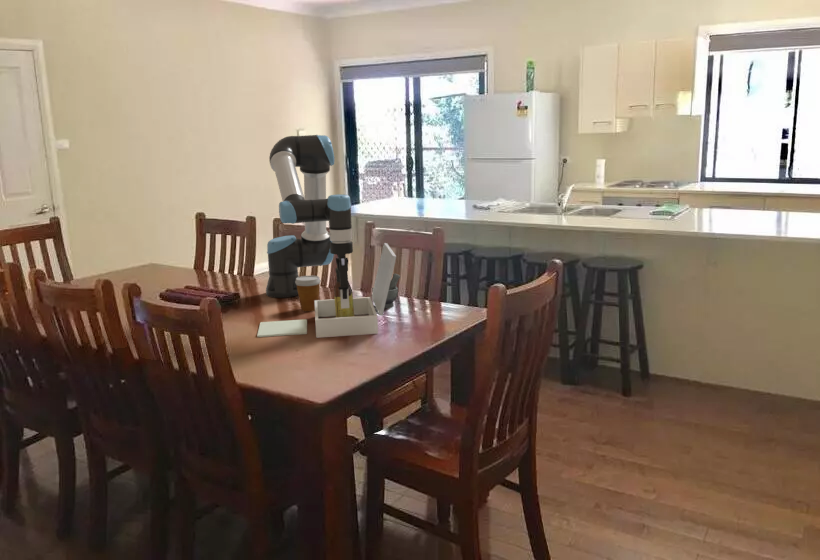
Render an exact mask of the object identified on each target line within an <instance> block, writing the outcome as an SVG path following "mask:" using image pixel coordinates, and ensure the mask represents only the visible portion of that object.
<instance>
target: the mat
mask: <svg viewBox="0 0 820 560" xmlns="http://www.w3.org/2000/svg"><path fill="white" fill-rule="evenodd" d="M307 334H308V319H307V318H305V319H292V320H274V321H260V323H259V327H258V331H257V334H256V335H257V337H256V338H267V337H279V336H280V337H282V336H284V337H285V336H297V335H307Z"/></svg>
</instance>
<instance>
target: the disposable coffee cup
mask: <svg viewBox="0 0 820 560" xmlns="http://www.w3.org/2000/svg"><path fill="white" fill-rule="evenodd" d="M321 281H322V280H321V278H320V276H319V275H302V276H299V277H297V278H296V281H295V283H296V285H297V290H298V295H297V296H298V299H299V306H300V309H301V311H302V312H315V302H314V300H320V299H319V298H320V288H321V287H320V286H321Z"/></svg>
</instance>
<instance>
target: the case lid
mask: <svg viewBox="0 0 820 560" xmlns="http://www.w3.org/2000/svg"><path fill="white" fill-rule="evenodd" d="M382 246H383V247H382V249H381V254H380V259H379V262H378V268H377V272H376V275H375V276H376V277H375V280H374V285H373V287H372V288H373V292H372V294H371V300H372V302H373V305H374V307H375V308H376V309H375V310H376V313H377V315H378V316H383V315H384V311H385V308H384V307H385V303H386V299H387V294H388V290H389V286H390V282H391V280H392V278H393V274H394V269H395V264H396V259H397V255H396V254H395V252H394V251H393V249H392V248H391V246H390V245H389V244H388V242H387V243H386V242H383V245H382Z"/></svg>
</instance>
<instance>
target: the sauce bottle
mask: <svg viewBox="0 0 820 560" xmlns="http://www.w3.org/2000/svg"><path fill="white" fill-rule="evenodd" d="M334 271H335V274H336V283H335V285H334V287H333V292H334V293H333V294H334V296H333V297H334V299H335V311H336V316H335V318H339V317H354V316H355V315H354V306H353V298H354V296H353V289H352V287H351V284H350V281H349V280H348V285H349V288H348V289H349V308H343V309H341V295H340V290H338V287H340V273H339V272H338V268H337V267H335V270H334Z"/></svg>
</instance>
